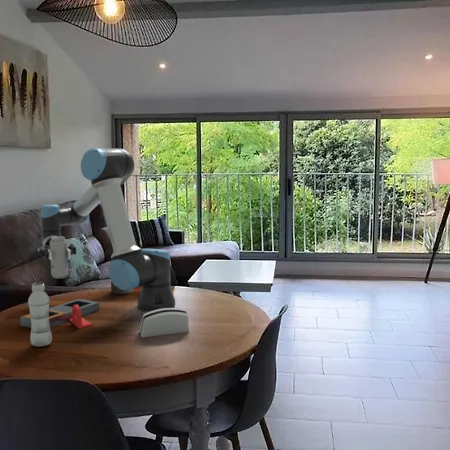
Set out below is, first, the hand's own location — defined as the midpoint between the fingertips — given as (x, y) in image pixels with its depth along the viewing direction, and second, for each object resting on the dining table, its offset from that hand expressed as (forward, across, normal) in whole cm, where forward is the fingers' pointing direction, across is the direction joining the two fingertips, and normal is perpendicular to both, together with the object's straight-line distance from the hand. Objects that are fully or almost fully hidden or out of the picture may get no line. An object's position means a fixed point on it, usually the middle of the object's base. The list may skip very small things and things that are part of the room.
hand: (60, 255), depth 189 cm
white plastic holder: (+30, -30, -24) cm, 49 cm away
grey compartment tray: (-3, 0, -24) cm, 24 cm away
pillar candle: (-31, -29, -24) cm, 49 cm away
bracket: (+6, -5, -25) cm, 26 cm away
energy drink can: (-5, 0, -9) cm, 11 cm away
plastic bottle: (+25, +9, -24) cm, 36 cm away
